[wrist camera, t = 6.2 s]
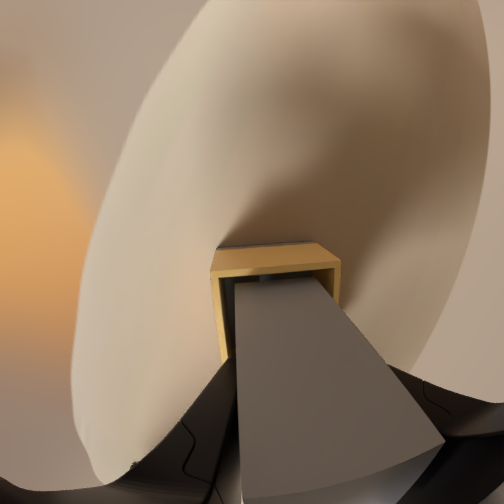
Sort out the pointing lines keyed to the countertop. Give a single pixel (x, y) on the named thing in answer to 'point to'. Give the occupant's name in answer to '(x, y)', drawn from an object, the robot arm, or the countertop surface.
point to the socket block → (265, 277)
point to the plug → (320, 404)
